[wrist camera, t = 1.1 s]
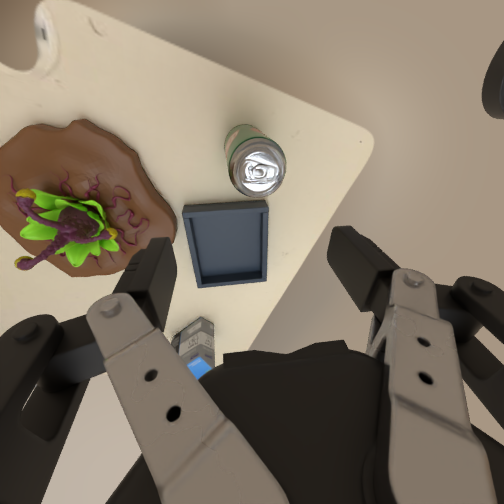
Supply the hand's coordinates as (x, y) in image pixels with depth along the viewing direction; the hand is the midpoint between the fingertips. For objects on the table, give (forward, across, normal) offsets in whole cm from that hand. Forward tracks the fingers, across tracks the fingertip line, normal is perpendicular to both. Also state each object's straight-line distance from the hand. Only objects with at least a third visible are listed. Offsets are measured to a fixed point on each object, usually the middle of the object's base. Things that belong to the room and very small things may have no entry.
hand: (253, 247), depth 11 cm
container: (+21, +1, +13) cm, 25 cm away
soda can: (+22, -2, -1) cm, 22 cm away
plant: (+21, +19, +6) cm, 29 cm away
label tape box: (+21, +10, +34) cm, 41 cm away
